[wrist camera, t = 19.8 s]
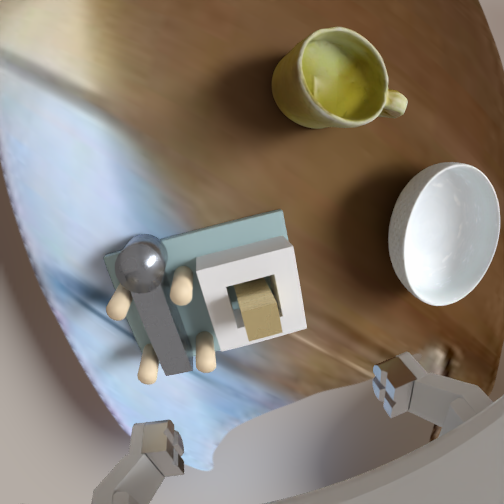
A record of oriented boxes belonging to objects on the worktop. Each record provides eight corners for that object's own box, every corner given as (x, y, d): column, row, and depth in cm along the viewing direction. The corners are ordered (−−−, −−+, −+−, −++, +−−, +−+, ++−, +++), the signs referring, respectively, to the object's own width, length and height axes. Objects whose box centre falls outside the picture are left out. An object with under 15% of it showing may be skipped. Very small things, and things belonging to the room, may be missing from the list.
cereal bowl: (347, 262, 36) (377, 285, 29) (401, 134, 32) (439, 133, 26) (435, 298, 40) (465, 319, 34) (479, 194, 37) (514, 204, 30)
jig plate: (105, 254, 31) (88, 275, 26) (280, 209, 33) (296, 220, 27) (149, 360, 36) (143, 392, 30) (300, 323, 37) (317, 350, 32)
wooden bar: (231, 276, 33) (240, 312, 26) (259, 269, 33) (276, 302, 26) (237, 301, 34) (248, 341, 27) (264, 294, 34) (282, 332, 27)
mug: (238, 114, 28) (301, 72, 19) (272, 42, 29) (330, -3, 20) (334, 172, 33) (408, 160, 24) (354, 101, 34) (419, 78, 25)
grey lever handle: (118, 240, 30) (107, 252, 26) (160, 228, 31) (155, 239, 27) (162, 356, 35) (159, 377, 31) (199, 347, 35) (200, 368, 31)
